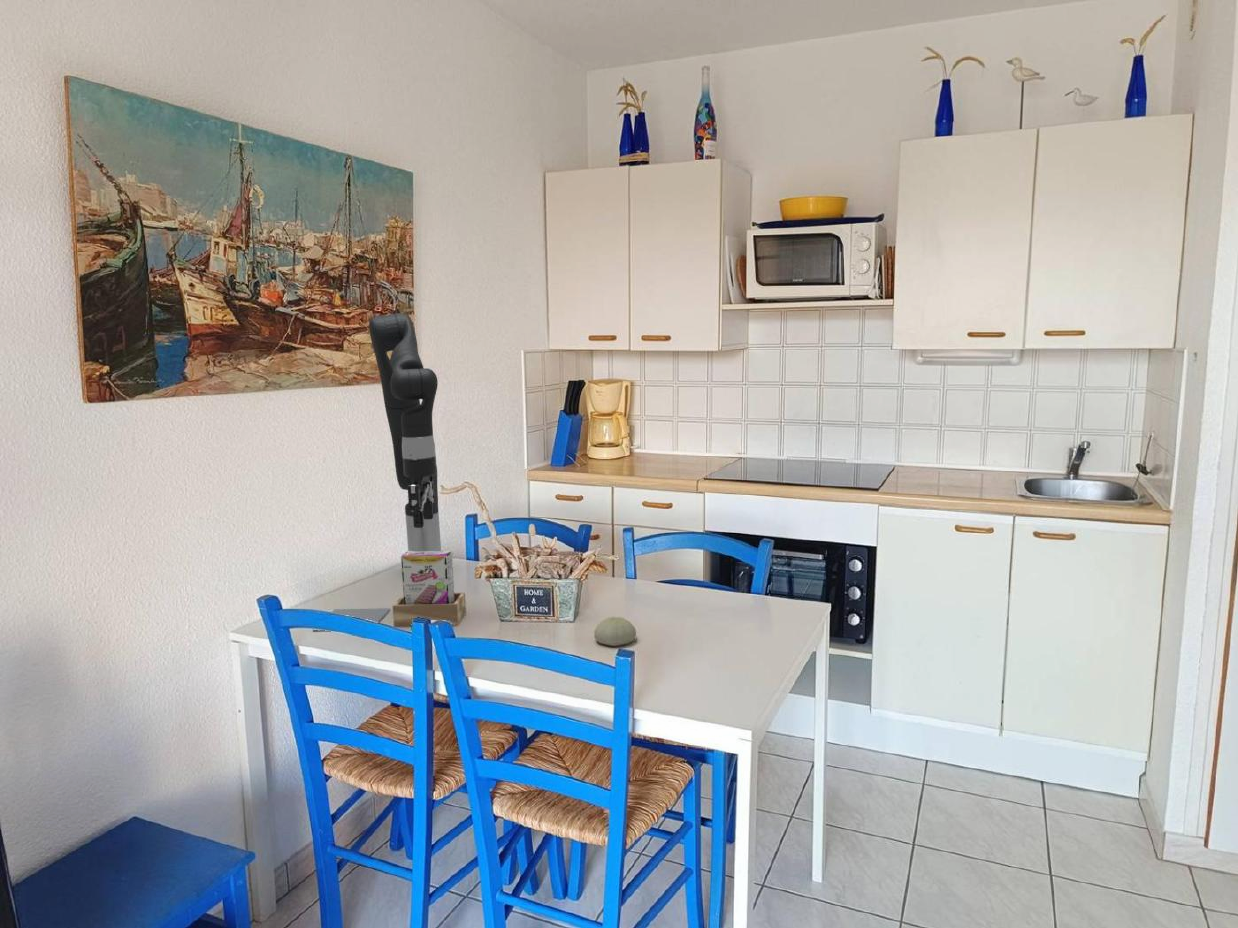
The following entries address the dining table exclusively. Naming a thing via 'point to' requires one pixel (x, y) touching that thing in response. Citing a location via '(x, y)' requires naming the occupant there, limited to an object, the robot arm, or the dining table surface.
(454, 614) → the caddy
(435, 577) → the candy bar box
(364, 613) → the coaster
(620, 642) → the sea urchin shell
